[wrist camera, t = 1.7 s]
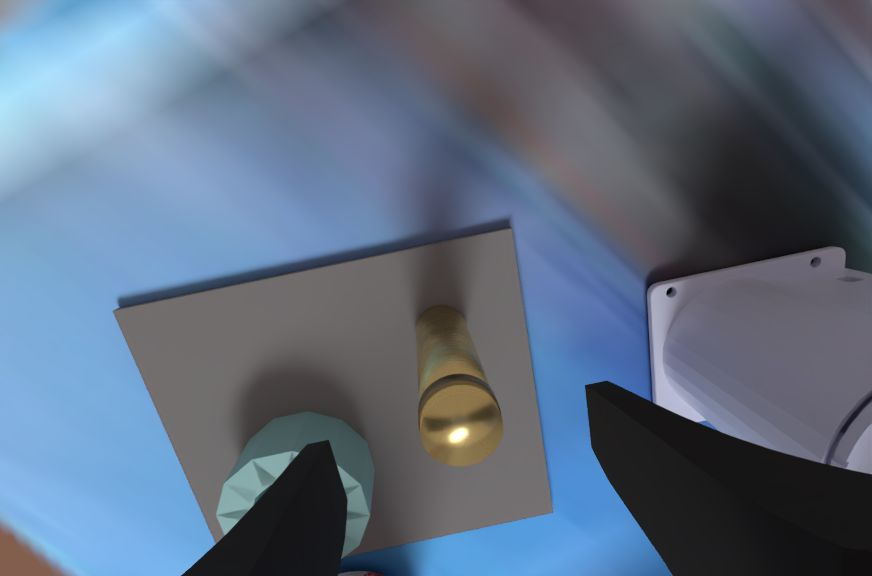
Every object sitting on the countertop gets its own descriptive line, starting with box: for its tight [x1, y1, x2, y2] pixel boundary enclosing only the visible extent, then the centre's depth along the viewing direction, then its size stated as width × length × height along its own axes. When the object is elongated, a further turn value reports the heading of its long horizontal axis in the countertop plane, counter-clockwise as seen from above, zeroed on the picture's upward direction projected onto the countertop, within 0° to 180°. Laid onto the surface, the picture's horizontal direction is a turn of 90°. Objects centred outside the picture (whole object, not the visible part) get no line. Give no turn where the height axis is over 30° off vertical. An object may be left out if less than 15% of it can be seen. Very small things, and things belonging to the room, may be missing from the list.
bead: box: [216, 411, 375, 559], centre depth 20 cm, size 6×6×3 cm
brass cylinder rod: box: [415, 305, 504, 466], centre depth 16 cm, size 2×2×8 cm
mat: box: [113, 227, 553, 557], centre depth 21 cm, size 18×16×1 cm
